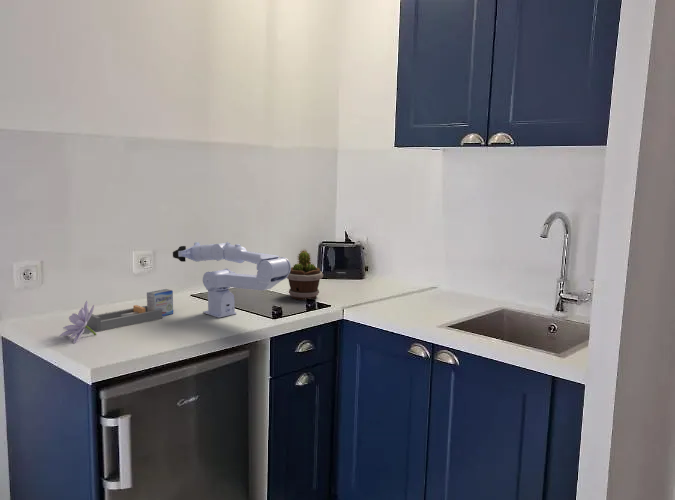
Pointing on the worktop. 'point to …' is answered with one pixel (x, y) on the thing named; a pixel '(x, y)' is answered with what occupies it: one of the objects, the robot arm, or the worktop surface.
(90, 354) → the worktop surface
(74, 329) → the water lily
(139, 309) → the pusher
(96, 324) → the gray tray
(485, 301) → the worktop surface
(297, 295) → the flowerpot
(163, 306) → the medicine box
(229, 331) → the worktop surface
